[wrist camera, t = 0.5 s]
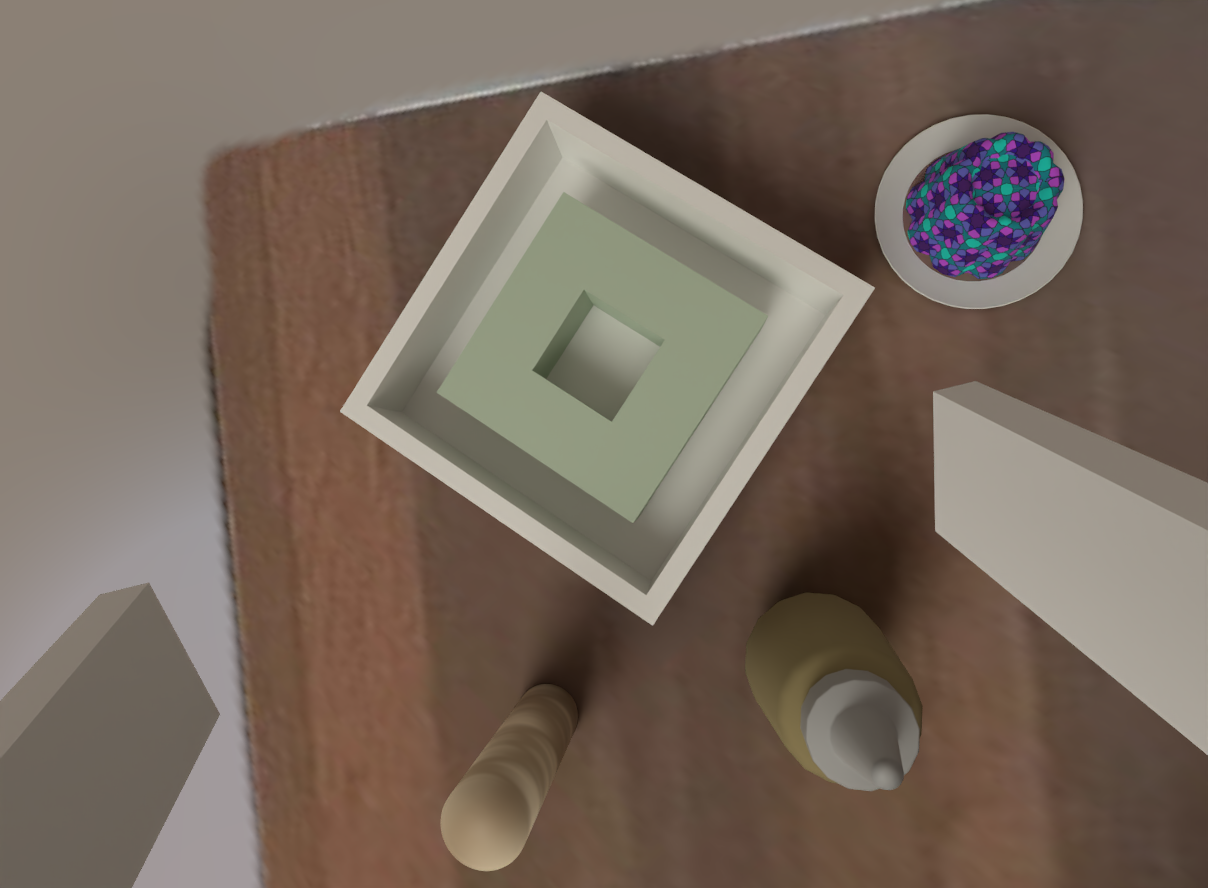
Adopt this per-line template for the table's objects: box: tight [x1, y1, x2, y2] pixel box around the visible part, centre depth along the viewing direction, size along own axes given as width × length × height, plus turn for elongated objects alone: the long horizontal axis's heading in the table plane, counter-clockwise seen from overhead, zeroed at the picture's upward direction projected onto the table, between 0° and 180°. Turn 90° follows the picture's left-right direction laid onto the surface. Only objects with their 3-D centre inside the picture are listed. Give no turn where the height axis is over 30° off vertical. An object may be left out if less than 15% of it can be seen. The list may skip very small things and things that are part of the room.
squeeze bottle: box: [745, 593, 922, 791], centre depth 34 cm, size 8×8×18 cm
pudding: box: [875, 114, 1083, 309], centre depth 41 cm, size 12×12×5 cm
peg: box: [441, 684, 578, 871], centre depth 38 cm, size 4×4×14 cm
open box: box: [340, 92, 875, 626], centre depth 42 cm, size 22×22×6 cm
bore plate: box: [437, 192, 768, 523], centre depth 42 cm, size 14×14×4 cm
